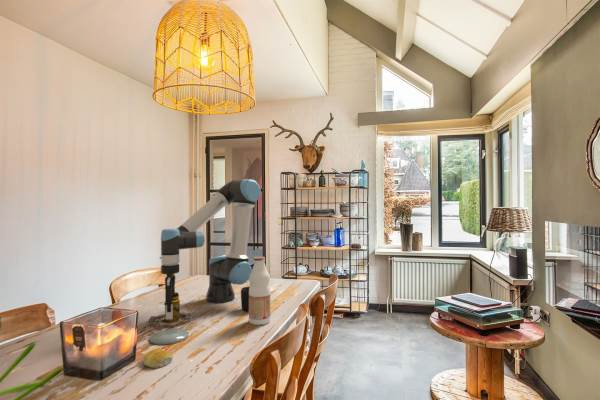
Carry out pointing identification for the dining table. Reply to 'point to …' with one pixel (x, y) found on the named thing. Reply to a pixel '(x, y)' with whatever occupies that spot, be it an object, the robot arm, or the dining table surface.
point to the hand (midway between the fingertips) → (170, 316)
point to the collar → (152, 323)
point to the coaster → (168, 336)
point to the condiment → (175, 310)
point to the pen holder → (245, 299)
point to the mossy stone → (157, 358)
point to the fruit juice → (259, 293)
